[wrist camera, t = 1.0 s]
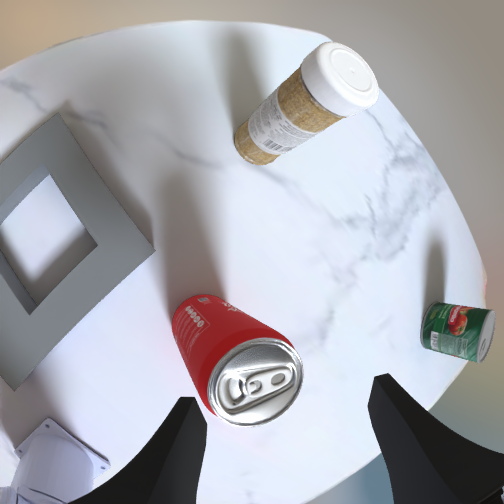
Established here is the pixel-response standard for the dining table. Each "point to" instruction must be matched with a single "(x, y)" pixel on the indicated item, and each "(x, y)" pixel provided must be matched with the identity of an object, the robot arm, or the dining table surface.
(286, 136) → the sprinkles bottle
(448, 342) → the canned tomato
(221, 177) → the dining table surface
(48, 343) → the grey tray with recess
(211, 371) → the red soda can
